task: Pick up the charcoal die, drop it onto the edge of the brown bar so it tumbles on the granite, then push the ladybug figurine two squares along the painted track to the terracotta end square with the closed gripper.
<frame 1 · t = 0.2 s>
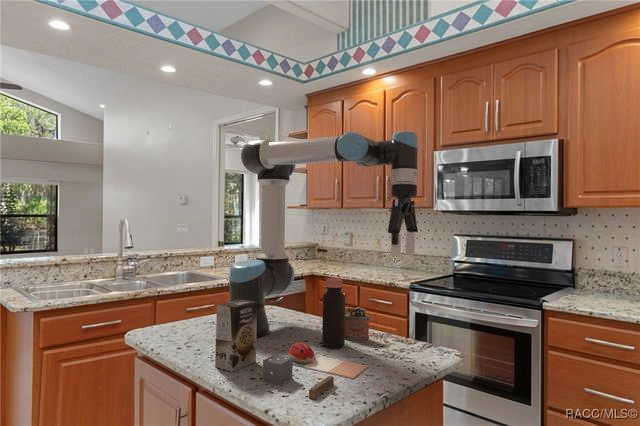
hand: (403, 254, 125), 28 cm above the counter, tool pointing down, fingers open, 13 cm apart
brown bar: (321, 391, 92), on the counter
coffee box: (236, 365, 108), on the counter
ladybug figurine: (301, 359, 112), resting on track
bottle: (333, 346, 125), on the counter
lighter: (356, 339, 132), on the counter
die: (277, 380, 98), on the counter
track: (324, 364, 109), on the counter
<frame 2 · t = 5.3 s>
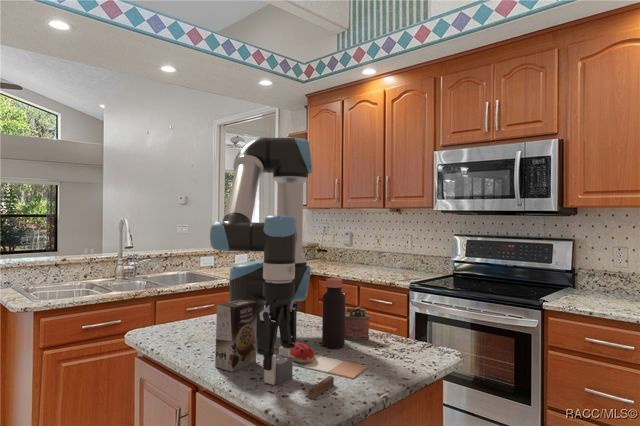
hand: (277, 378, 98), 0 cm above the counter, tool pointing down, fingers closed on die, 5 cm apart
die: (277, 380, 98), on the counter, touching gripper
everything else where it was.
when the fingers open (9 cm above the counter, at t = 6.7 s): die drops 6 cm and tips over, point 2 cm above the counter.
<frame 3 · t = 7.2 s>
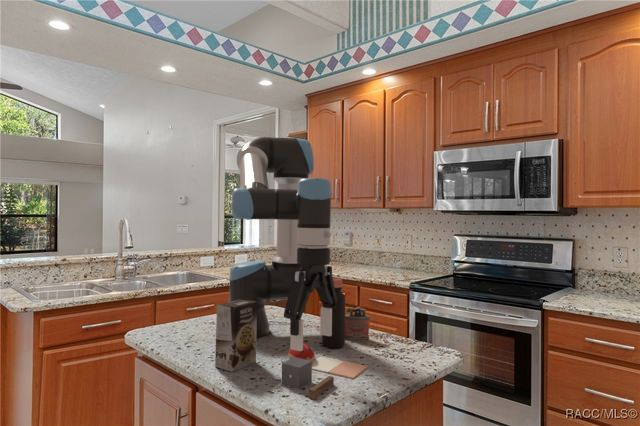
hand: (312, 342, 94), 10 cm above the counter, tool pointing down, fingers open, 12 cm apart
die: (305, 375, 95), point 2 cm above the counter, tilted 90°
everything else where it was.
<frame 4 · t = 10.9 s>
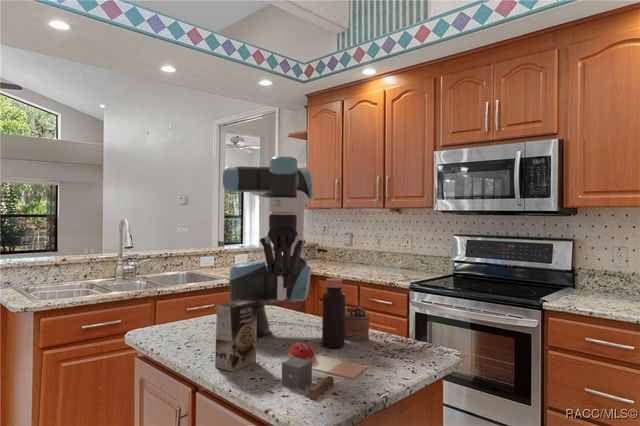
hand: (281, 299, 114), 16 cm above the counter, tool pointing down, fingers closed
nothing on the counter moved.
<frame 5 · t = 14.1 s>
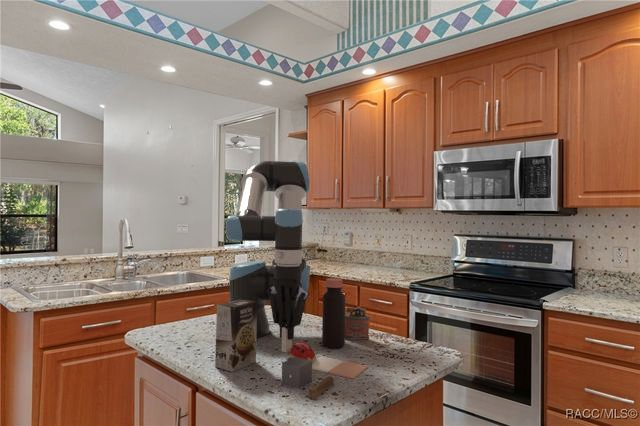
hand: (286, 350, 114), 2 cm above the counter, tool pointing down, fingers closed
ladybug figurine: (302, 359, 112), resting on track, touching gripper
everything else where it was.
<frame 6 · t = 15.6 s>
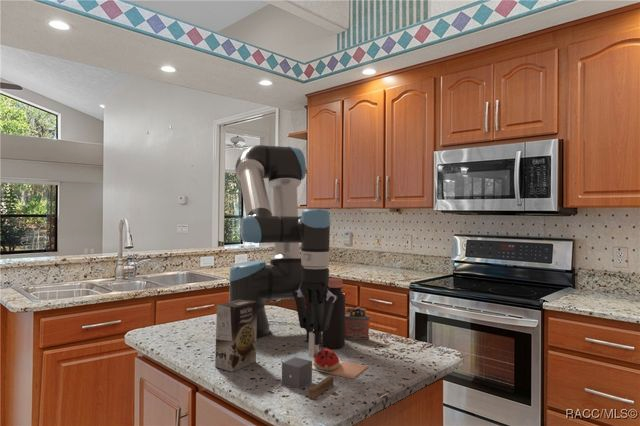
hand: (313, 356, 110), 2 cm above the counter, tool pointing down, fingers closed
ladybug figurine: (326, 366, 107), resting on track
everything else where it was.
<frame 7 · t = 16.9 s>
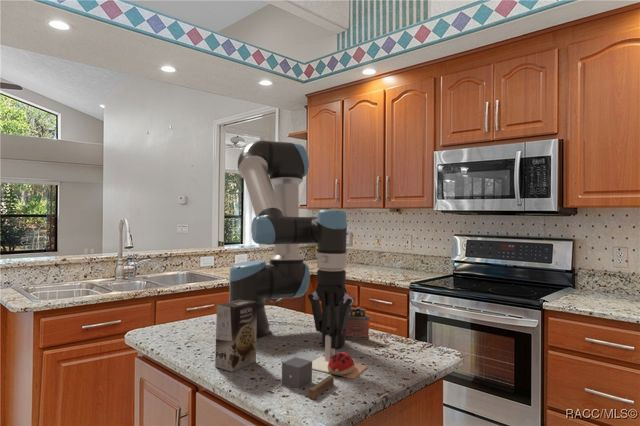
hand: (329, 359, 108), 2 cm above the counter, tool pointing down, fingers closed
ladybug figurine: (341, 370, 104), resting on track, touching gripper
everything else where it was.
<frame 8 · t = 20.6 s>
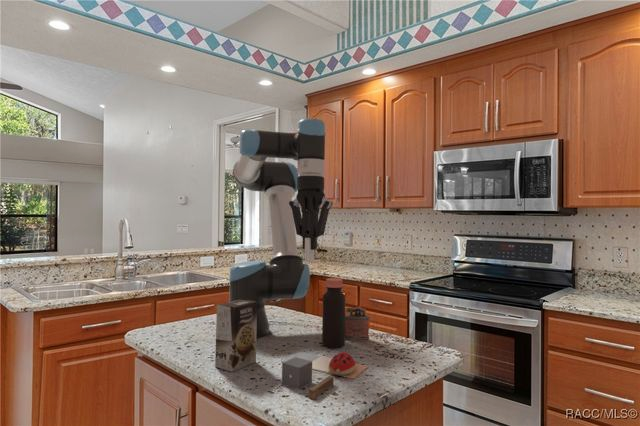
hand: (309, 261, 114), 26 cm above the counter, tool pointing down, fingers closed
ladybug figurine: (342, 370, 104), resting on track
everything else where it was.
at the end: ladybug figurine inside the target area (2.1 cm from its centre), resting on track; the gripper is holding nothing; die point 2.4 cm above the counter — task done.
